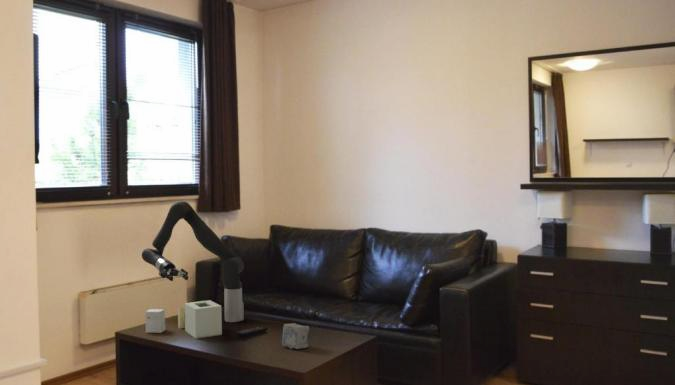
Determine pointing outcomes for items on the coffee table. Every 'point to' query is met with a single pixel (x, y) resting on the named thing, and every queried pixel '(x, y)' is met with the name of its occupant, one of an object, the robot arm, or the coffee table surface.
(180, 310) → the brass token
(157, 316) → the small box
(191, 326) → the box
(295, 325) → the incense holder
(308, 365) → the coffee table surface
